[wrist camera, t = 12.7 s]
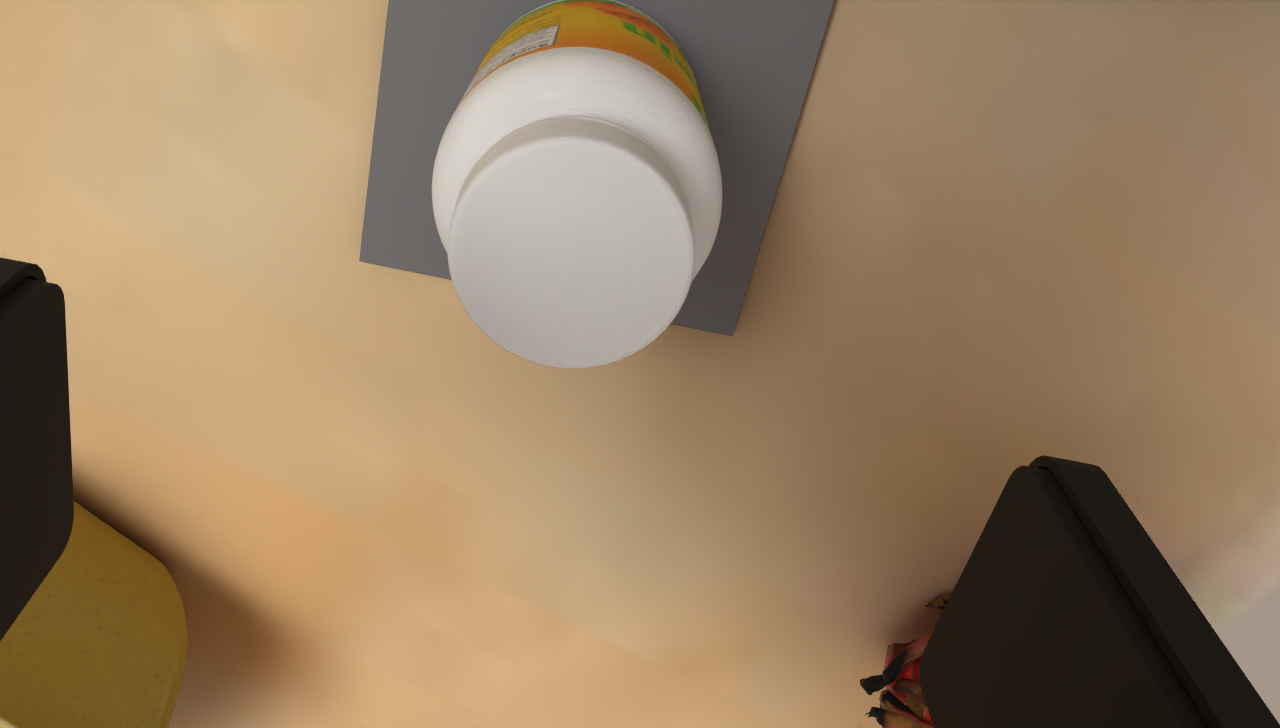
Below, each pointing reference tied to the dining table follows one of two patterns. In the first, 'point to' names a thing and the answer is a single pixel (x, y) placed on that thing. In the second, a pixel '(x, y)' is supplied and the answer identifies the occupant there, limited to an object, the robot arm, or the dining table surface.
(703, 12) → the mat
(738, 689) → the dining table surface
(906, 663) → the dragon fruit
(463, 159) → the supplement bottle
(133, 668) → the flower pot
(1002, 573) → the robot arm
